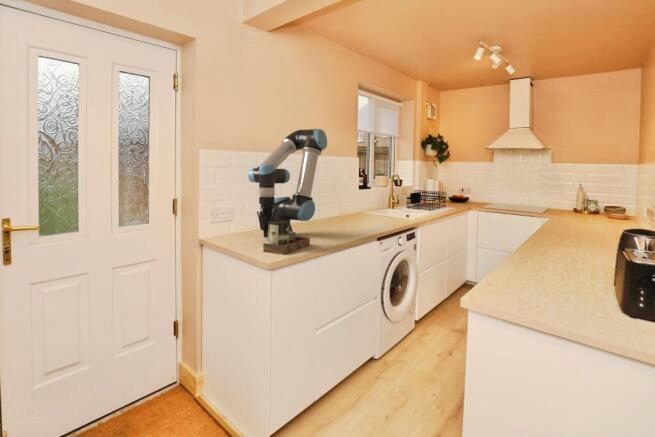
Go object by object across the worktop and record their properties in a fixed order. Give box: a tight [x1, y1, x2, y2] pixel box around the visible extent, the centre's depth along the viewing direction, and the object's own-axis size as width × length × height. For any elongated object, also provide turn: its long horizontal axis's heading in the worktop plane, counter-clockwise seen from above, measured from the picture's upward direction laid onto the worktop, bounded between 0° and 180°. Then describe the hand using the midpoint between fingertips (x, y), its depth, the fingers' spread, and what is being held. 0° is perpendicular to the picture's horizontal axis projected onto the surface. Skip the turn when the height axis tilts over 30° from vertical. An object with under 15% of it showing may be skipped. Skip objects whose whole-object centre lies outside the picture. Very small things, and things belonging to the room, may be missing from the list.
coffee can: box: [268, 220, 289, 246], centre depth 179 cm, size 10×10×14 cm
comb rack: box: [262, 235, 311, 256], centre depth 182 cm, size 23×12×4 cm, turn 152°
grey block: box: [289, 231, 296, 240], centre depth 189 cm, size 6×4×7 cm, turn 152°
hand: (267, 243), depth 182 cm, fingers closed
